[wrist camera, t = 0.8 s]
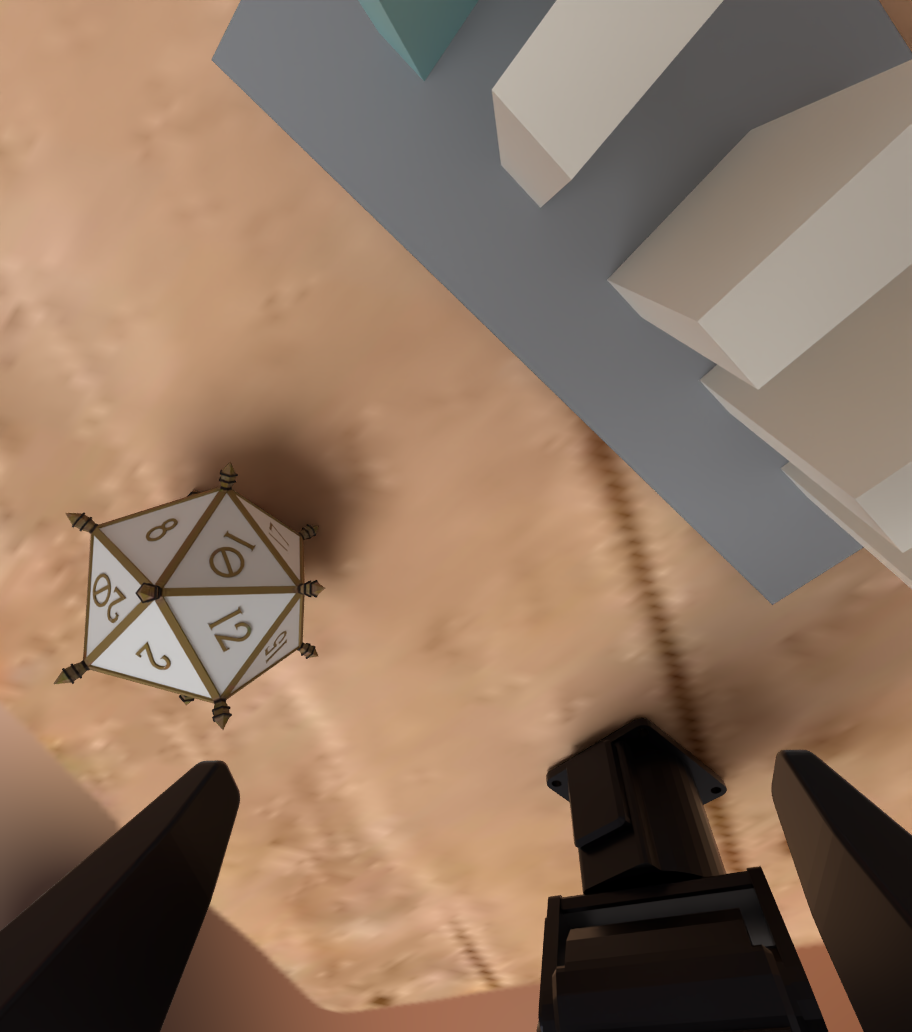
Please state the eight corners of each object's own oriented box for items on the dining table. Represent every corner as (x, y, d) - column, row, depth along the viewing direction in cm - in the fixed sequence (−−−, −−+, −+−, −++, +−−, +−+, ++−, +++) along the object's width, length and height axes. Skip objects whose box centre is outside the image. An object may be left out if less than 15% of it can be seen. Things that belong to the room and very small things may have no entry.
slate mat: (1102, 379, 17) (1121, 383, 17) (766, 595, 22) (772, 604, 21) (519, -524, 11) (520, -564, 10) (221, 65, 15) (211, 59, 15)
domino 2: (785, 176, 15) (1101, 108, 7) (641, 316, 17) (757, 389, 9) (750, 129, 14) (1042, 2, 7) (607, 279, 16) (696, 321, 9)
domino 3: (874, 293, 16) (1233, 350, 8) (729, 412, 18) (902, 552, 10) (844, 253, 16) (1191, 272, 8) (699, 380, 18) (855, 499, 10)
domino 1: (681, 39, 14) (916, -229, 6) (540, 207, 16) (571, 180, 8) (640, -15, 13) (832, -382, 5) (501, 165, 15) (491, 90, 7)
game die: (257, 520, 27) (32, 642, 21) (248, 383, 20) (-81, 503, 14) (379, 646, 24) (160, 827, 18) (411, 534, 18) (90, 756, 12)
